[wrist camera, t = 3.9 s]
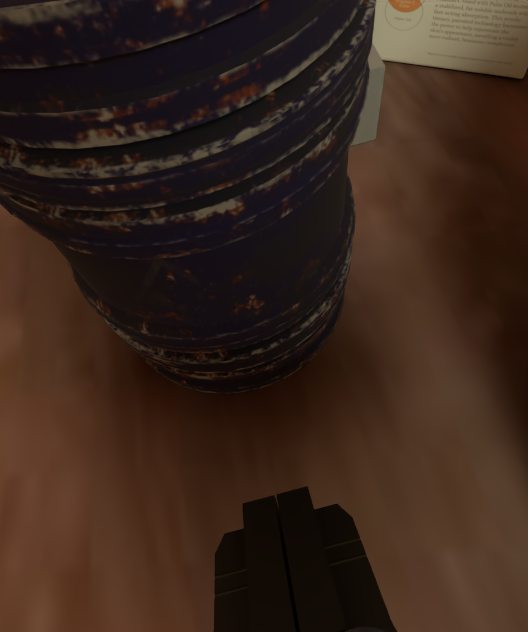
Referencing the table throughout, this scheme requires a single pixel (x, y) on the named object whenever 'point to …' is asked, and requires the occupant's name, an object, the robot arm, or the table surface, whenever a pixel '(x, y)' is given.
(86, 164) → the black ribbed barrel
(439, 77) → the table surface
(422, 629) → the table surface
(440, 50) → the small box
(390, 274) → the table surface
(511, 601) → the table surface
